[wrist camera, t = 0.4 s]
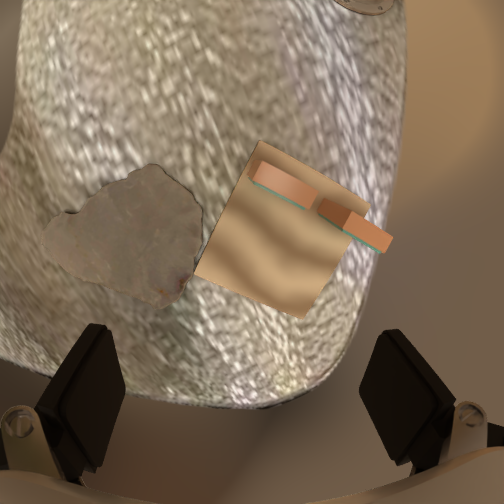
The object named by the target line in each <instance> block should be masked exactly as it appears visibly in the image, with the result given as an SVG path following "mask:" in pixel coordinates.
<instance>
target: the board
mask: <svg viewBox="0 0 504 504" xmlns="http://www.w3.org/2000/svg"><path fill="white" fill-rule="evenodd" d="M254 160H262V161H264V162H266V163H268V164H270V165H272V166H274V167H276V168H278V169H280V170H282V171H283V172H285V173H287V174H289V175H291V176H293V177H294V178H296V179H298V180H300V181H302V182H304V183H305V184H307V185H309V186H311V187H312V188H314V189H316V190H318V191H319V192H318V194H317V196H316V198H315V200H314V202H313V203H312V205H311V207H310V209H307V208H305V210H302V209H300V208H298V207H297V206H295V205H293V204H291V203H289V202H287V201H285V200H283V199H281V198H279V197H278V196H276V195H274V194H272V193H270V192H268V191H266V190H264V189H262V188H260V187H258V186H256V185H254V184H253V183H252V182H251V181H250V180H249V179H248V177H249V176H248V175H247V173H248V171H249V169H250V167H251V165H252V163H253V161H254ZM324 198H326V199H328V200H330V201H332V202H334V203H336V204H339V205H341V206H343V207H345V208H347V209H349V210H351V211H353V212H355V213H356V214H358V215H359V216H361V217H363V218H364V217H365V215H366V213H367V211H368V209H369V208H370V206H371V205H370V204H369V203H367V202H366V201H364V200H363V199H361V198H360V197H358V196H357V195H355V194H353V193H352V192H350V191H349V190H347V189H346V188H344V187H342V186H341V185H339V184H337V183H336V182H334V181H333V180H331V179H329V178H328V177H326V176H324V175H323V174H321V173H319V172H317V171H316V170H314V169H312V168H311V167H309V166H307V165H305V164H304V163H302V162H300V161H298V160H296V159H295V158H293V157H291V156H289V155H287V154H285V153H284V152H282V151H280V150H278V149H276V148H274V147H272V146H270V145H268V144H267V143H265V142H263V141H261V140H259V142H258V144H257V146H256V148H255V149H254V151H253V153H252V155H251V157H250V159H249V161H248V163H247V165H246V167H245V169H244V170H243V172H242V174H241V176H240V178H239V180H238V182H237V184H236V186H235V188H234V190H233V192H232V194H231V196H230V198H229V200H228V202H227V204H226V206H225V208H224V210H223V212H222V214H221V216H220V218H219V220H218V222H217V224H216V226H215V228H214V230H213V233H212V235H211V237H210V239H209V241H208V243H207V245H206V247H205V249H204V251H203V254H202V256H201V258H200V260H199V262H198V264H197V266H196V269H195V271H194V274H195V275H197V276H199V277H201V278H204V279H206V280H208V281H210V282H213V283H215V284H217V285H220V286H222V287H224V288H227V289H229V290H231V291H234V292H236V293H238V294H241V295H243V296H246V297H248V298H250V299H253V300H255V301H258V302H260V303H262V304H265V305H267V306H270V307H272V308H275V309H277V310H280V311H282V312H285V313H287V314H290V315H292V316H295V317H297V318H300V319H302V320H303V318H304V317H305V315H306V314H307V312H308V311H309V309H310V308H311V306H312V305H313V303H314V301H315V300H316V298H317V297H318V295H319V294H320V292H321V290H322V289H323V287H324V286H325V284H326V282H327V281H328V279H329V277H330V276H331V274H332V273H333V271H334V269H335V268H336V266H337V264H338V263H339V261H340V259H341V257H342V256H343V254H344V252H345V251H346V249H347V247H348V245H349V244H350V242H351V240H352V237H351V236H349V235H347V234H345V233H344V232H342V231H341V230H339V229H338V228H336V227H335V226H333V225H332V224H331V223H329V222H328V221H326V220H325V219H323V218H322V217H320V216H319V215H318V214H319V213H318V212H317V210H318V208H319V206H320V204H321V202H322V200H323V199H324Z"/></svg>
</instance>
